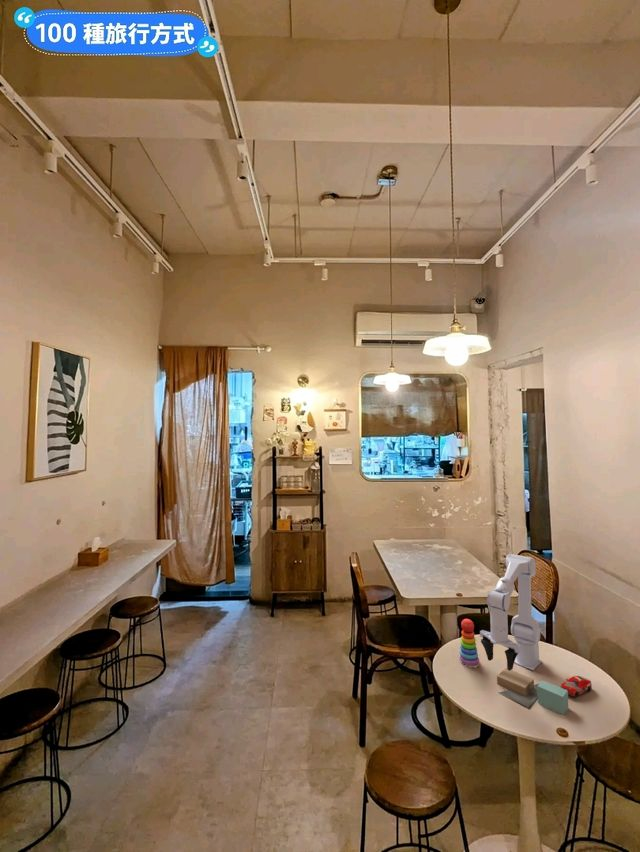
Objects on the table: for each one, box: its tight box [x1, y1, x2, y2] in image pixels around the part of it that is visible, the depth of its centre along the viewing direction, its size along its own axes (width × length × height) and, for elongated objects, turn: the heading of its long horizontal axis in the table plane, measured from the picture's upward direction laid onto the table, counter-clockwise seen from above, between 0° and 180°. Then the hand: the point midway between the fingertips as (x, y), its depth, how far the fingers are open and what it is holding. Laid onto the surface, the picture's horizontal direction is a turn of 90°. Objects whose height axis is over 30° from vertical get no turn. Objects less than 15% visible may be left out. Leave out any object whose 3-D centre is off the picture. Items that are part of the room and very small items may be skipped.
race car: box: [560, 675, 593, 698], centre depth 144 cm, size 13×5×4 cm, turn 116°
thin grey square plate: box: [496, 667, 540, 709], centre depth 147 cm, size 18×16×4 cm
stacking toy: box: [459, 618, 480, 668], centre depth 162 cm, size 8×8×19 cm
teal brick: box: [537, 680, 570, 716], centre depth 137 cm, size 5×8×6 cm, turn 41°
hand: (500, 664), depth 142 cm, fingers open, 7 cm apart
